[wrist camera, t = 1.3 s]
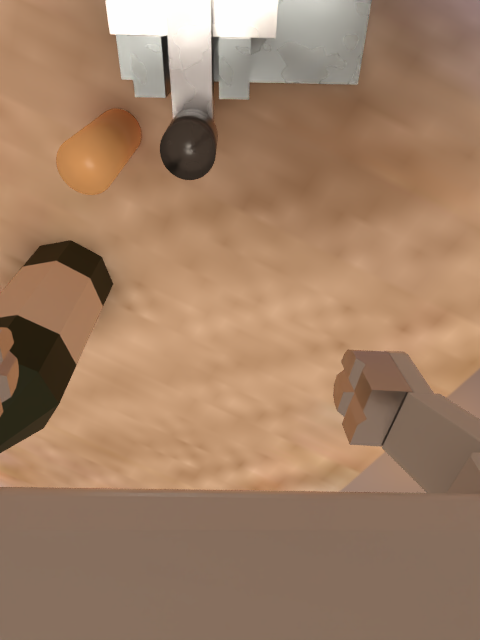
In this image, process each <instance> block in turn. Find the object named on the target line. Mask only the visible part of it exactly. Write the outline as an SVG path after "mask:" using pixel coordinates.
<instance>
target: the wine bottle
mask: <svg viewBox="0 0 480 640" xmlns="http://www.w3.org/2000/svg"><path fill="white" fill-rule="evenodd" d="M112 285H113V283H112V280H111V278H110V276H109V273H108V271H107V269H106V266H105V264H104V261H103V259H102V257H101V256H99V255H97V254H95V253H93V252H91V251H90V250H88V249H86V248H84V247H82V246H80V245H78V244H77V243H75V242H73V241H65V242H60V243H54V244H48V245H43V246H40V247H39V248H38V249H37V250H36V252H35V253H34V254H33V255H32V256H31V258H30V259H29V260H28V261H27V262H26V263H25V265H24V266H23V267H22V268H21V269H20V271H19V272H18V273H17V274H16V275H15V277H14V278H13V279H12V280H11V281H10V282H9V284H8V285H7V286H6V287H5V288H4V290H3V291H2V292H1V293H0V327H4V328H8V329H9V330H10V331H11V332H12V336H13V340H14V344H13V345H12V347H11V349H10V350H9V351H10V352H11V353H12V354H13V355H14V356H15V357H17V360H18V365H19V377H18V381H17V385H16V389H15V391H14V393H13V394H12V396H11V397H10V398H9V399H7V400H6V401H4V402H2V407H3V413H2V415H1V416H0V453H1V452H3V451H5V450H6V449H8V448H10V447H12V446H13V445H15V444H17V443H19V442H20V441H22V440H24V439H26V438H27V437H29V436H31V435H32V434H34V433H36V432H38V431H39V430H41V429H43V428H44V427H45V425H46V424H47V422H48V420H49V419H50V417H51V416H52V414H53V413H54V411H55V409H56V408H57V406H58V405H59V403H60V401H61V398H62V396H63V394H64V392H65V389H66V387H67V385H68V383H69V381H70V378H71V376H72V374H73V372H74V369H75V367H76V365H77V363H78V361H79V358H80V356H81V354H82V352H83V349H84V347H85V345H86V343H87V341H88V338H89V336H90V334H91V332H92V330H93V327H94V325H95V323H96V321H97V318H98V316H99V314H100V312H101V310H102V307H103V305H104V303H105V301H106V298H107V296H108V294H109V292H110V290H111V287H112Z"/></svg>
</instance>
